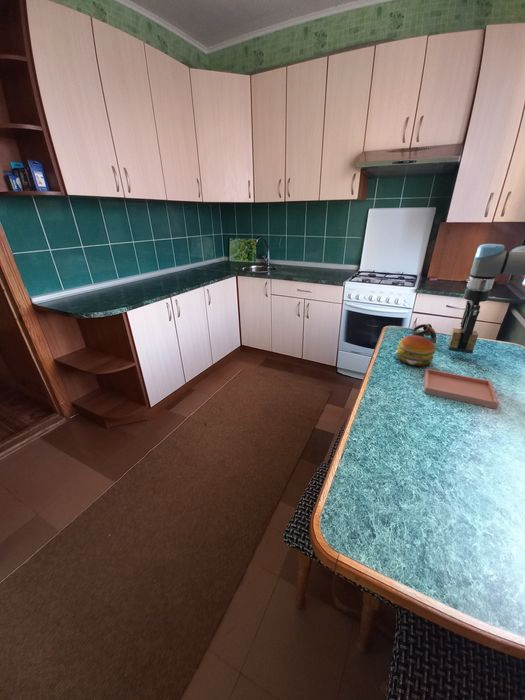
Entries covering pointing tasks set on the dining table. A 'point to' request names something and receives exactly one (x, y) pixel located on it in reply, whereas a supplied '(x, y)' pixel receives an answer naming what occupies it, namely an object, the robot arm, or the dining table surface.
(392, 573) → the dining table surface
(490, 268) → the robot arm
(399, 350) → the burger
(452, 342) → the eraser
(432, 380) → the tray
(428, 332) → the pottery mug
